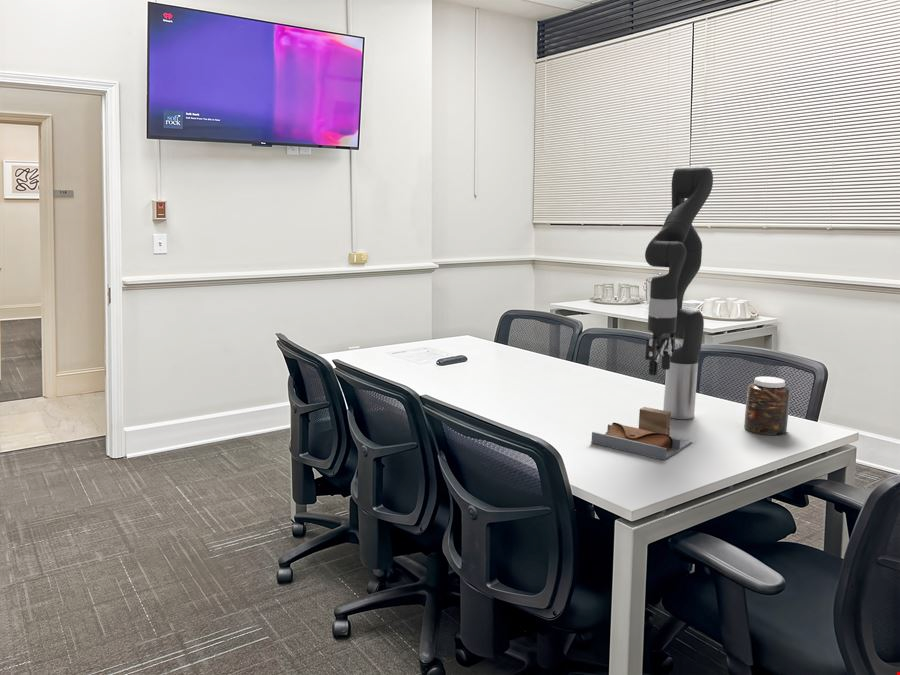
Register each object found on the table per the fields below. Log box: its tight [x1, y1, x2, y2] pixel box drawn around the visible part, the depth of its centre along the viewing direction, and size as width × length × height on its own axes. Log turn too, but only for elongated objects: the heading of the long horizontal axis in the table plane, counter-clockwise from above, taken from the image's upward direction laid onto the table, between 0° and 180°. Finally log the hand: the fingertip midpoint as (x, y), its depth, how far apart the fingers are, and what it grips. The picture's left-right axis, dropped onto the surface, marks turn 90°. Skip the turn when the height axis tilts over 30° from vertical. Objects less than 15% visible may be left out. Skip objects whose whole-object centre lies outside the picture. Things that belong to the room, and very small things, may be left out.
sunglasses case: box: [605, 422, 673, 452], centre depth 200 cm, size 18×7×7 cm, turn 51°
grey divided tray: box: [590, 406, 693, 461], centre depth 202 cm, size 18×21×8 cm
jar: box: [743, 376, 791, 436], centre depth 216 cm, size 12×12×15 cm
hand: (659, 371), depth 206 cm, fingers open, 8 cm apart
